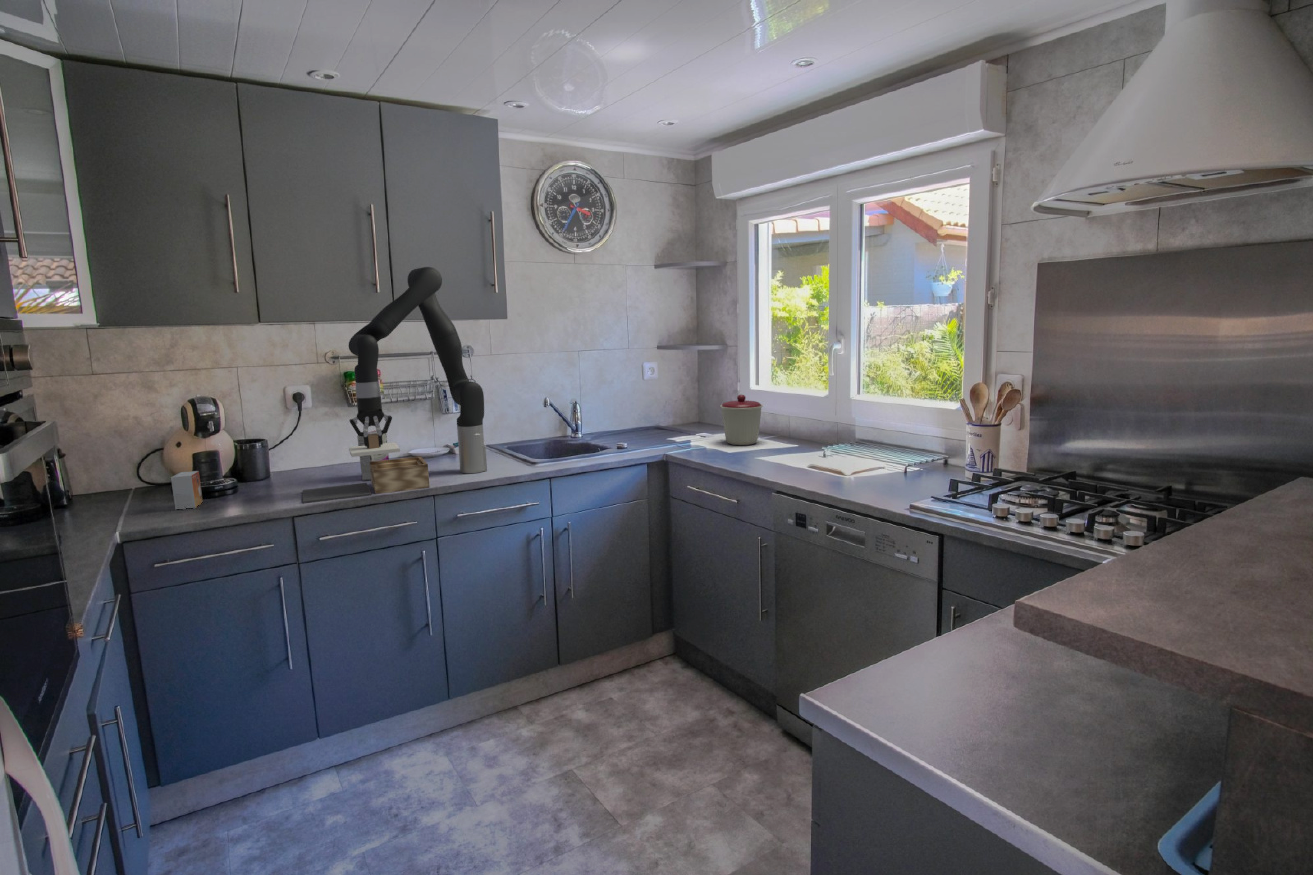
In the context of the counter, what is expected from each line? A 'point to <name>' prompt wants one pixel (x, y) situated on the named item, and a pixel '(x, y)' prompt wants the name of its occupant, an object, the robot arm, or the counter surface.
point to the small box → (186, 490)
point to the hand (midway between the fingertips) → (373, 446)
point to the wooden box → (399, 474)
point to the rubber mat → (335, 492)
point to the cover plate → (374, 451)
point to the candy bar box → (370, 457)
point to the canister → (741, 421)
